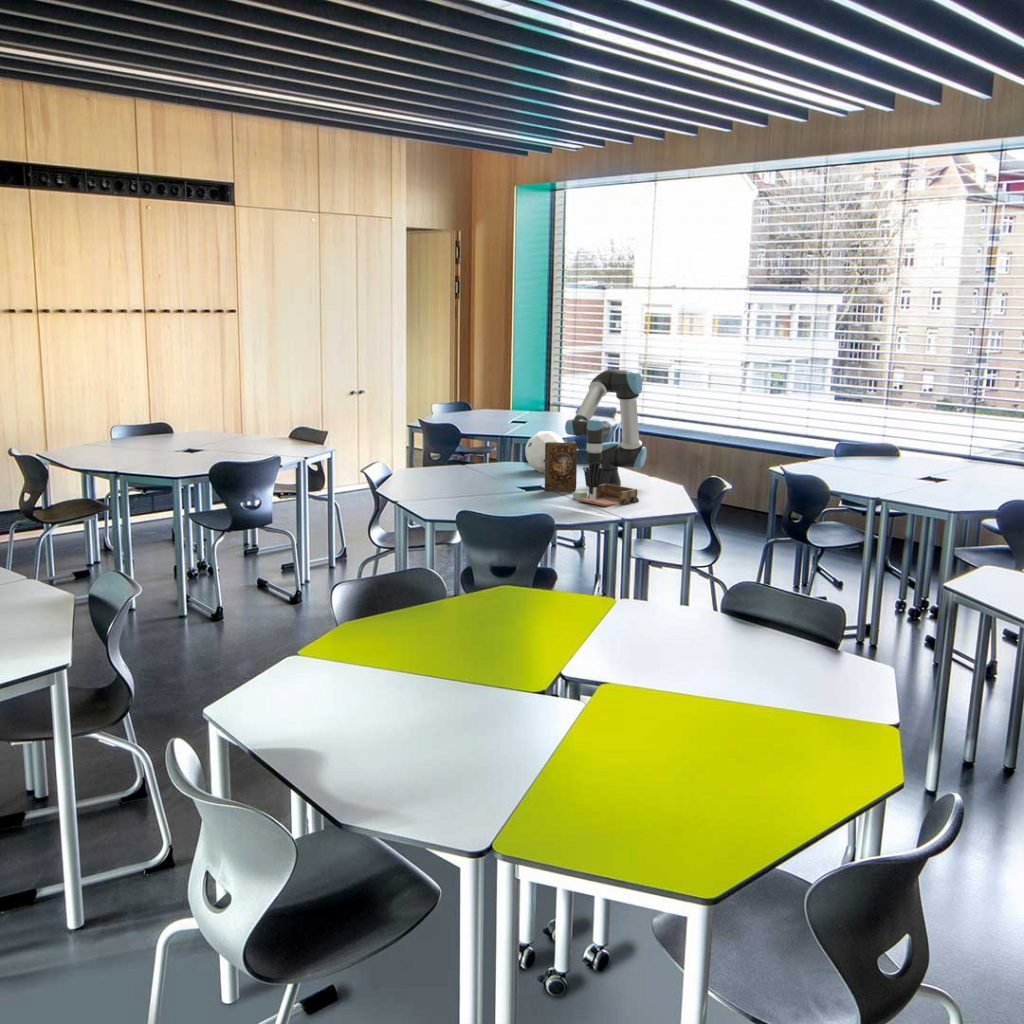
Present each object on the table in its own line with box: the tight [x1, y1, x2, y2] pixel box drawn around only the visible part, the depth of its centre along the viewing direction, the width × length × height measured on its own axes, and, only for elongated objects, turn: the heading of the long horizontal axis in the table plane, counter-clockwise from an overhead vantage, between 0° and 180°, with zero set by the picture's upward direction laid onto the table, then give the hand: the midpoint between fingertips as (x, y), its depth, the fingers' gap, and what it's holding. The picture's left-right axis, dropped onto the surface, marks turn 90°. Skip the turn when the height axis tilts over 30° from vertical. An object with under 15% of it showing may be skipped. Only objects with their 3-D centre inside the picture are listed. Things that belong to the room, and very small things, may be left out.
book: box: [544, 442, 578, 493], centre depth 512 cm, size 16×6×25 cm, turn 84°
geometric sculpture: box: [524, 430, 565, 473], centre depth 568 cm, size 25×25×25 cm
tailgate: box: [577, 497, 619, 507], centre depth 477 cm, size 1×17×10 cm
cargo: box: [572, 490, 588, 500], centre depth 488 cm, size 5×5×5 cm
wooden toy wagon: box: [587, 484, 640, 506], centre depth 485 cm, size 12×23×8 cm, turn 44°
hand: (592, 500), depth 475 cm, fingers closed
